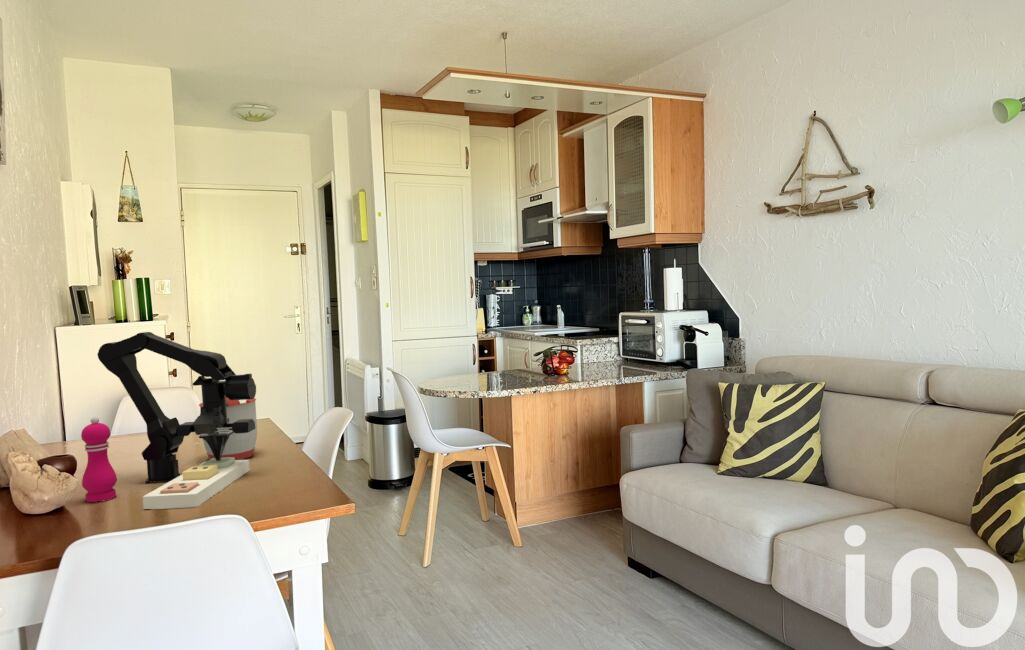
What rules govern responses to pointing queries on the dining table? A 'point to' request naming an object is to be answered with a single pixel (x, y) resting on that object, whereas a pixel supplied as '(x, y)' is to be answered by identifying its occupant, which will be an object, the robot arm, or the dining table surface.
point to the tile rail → (197, 494)
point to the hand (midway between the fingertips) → (218, 459)
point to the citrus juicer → (238, 442)
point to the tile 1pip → (221, 462)
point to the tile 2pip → (200, 472)
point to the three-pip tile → (179, 488)
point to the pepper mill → (98, 463)
